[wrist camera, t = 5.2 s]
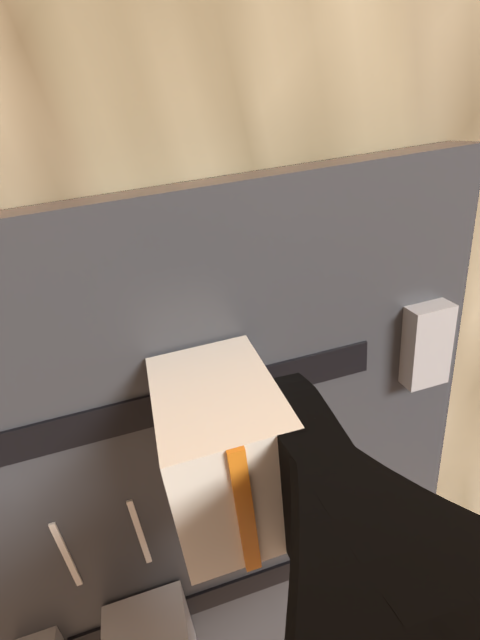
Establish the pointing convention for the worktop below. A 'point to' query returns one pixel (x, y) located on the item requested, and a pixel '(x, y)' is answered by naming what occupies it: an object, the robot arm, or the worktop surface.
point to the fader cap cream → (221, 454)
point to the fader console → (203, 328)
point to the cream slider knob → (149, 616)
